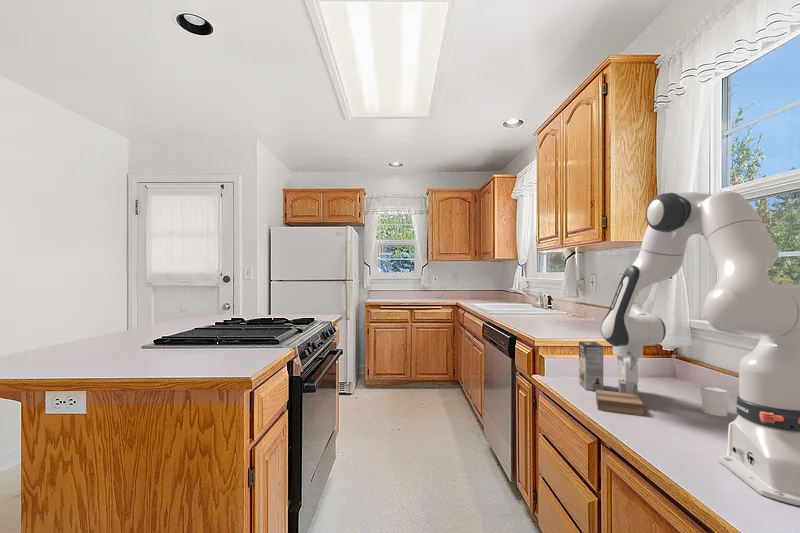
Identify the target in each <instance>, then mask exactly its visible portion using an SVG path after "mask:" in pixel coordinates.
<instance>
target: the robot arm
mask: <svg viewBox="0 0 800 533" xmlns="http://www.w3.org/2000/svg"><path fill="white" fill-rule="evenodd" d="M645 218H646V222H647V224H648V226H647V228H646V230H645V233H644V235H643V239H642V243H641V246H640V250H639V253H638V255H637V257H636V259H635V260H634V262H633V263H632V264H631V265H629V267H627V268H626V269H625V270H624V272H623V274H622V276H621V278H620V281H619V283H618V286H617V289H616V290H615V294H614V296H613V298H612V301H611V304H610V306H609V309H608V311H607V313H606V315H605V317H604V318H603V319H602V322H601V325H600V333H601V336H602V338H603V339H604V340H605V341H606V342H607V343H608V344H610V346H612V355H613V356H616V359H617V366H618V371H619V373H620V374H621V377H622V380H624V381H625V383H626V393H631V394H633V387H634V384H637V385H638V383H639V371H638V362H639V361H640V360H639V358H643V356H644V349H643V348H644V346H655V345H659V344H661V343H662V342H663V341H664V339H665V337H666V334H667V330H666V329H667V328H666V325H665V323H664V321H663V319H661V318H660V317H659V316H657V315H654V314H652V313H649V312H648V311H646V310H645V309H643V307H642V305H641V304H640V303H638V302H635V299H636V297H637V296H638V293H640V292H641V291H642V290H643V289H645V288H647V287H649V286H651V285H654V284H656V283H661V282H663V281H664V282H665V281H666V280H669V279H670V278H672V277H674V276H675V275H676V274H677V273H678V272H679V270H681V268H682V265H683V261H684V258H685V252H686V248H687V243H688V240H689V238H690V237H691V236H693V235H701V236H703V238H704V240H705V243H706V245H707V247H708V249H709V252H710V254H711V256H712V258H713V261H714V265H715V267H716V273H717V276H716V277H717V278H716V283H715V286H714V287H713V288H712V290H711V291H709V293H708V294H707V295H706V297H705V299H704V302H703V305H702V306H703V314H704V317H705V319H706V321H707V322H708V323H709V325H710V326H711V327H712V328H713V329H715V330H717V331H719V332H723V333H727V334H732V335H736V336H737V335H738V336H741V337H743V336H744V337H745V336H746V337H760V339H759V341H758V343H757V345H756V346H755V348H754V349H753V350H752V351H751V352H749V353H748V354H745V355H744V356H743V357H742V358H741V359H740V361H739V363H738V394H739V395H737V396H736V402H735V406H736V413H737V414H738V415H737V416H736V417H735V419H734V420H733V421H731V422H730V423H729V424H728V430H727V447H726V448H727V450H726V454H720V455H719V456H718V462H719V463H721V464H722V465H723V466H725V467H726V468H727V469H728V470H729V471H731V473H733V474H734V475H736V476H737V477H738V478H739V479H741V480H742V481H743V482H744V483H746V484H747V485H748V486H749V487H751V489H753V490H754V491H756V492H757V493H759V495H762V496H764V497H767V498H770V499H772V500H776V501H779V502H784V503H786V504H791V505H795V506H800V283H798V284H796V283H793V284H791V283H789V284H787V283H774V282H772V280H771V278H770V277H769V272H768V270H769V268H771V267H772V266H773V265H775V263H776V261H777V260H778V258H779V255H780V254H779V253H780V252H779V249H778V247H777V246H776V244H775V242H774V240H773V238H772V236H771V235H770V233H769V231H768V229H767V227H766V225H765V224H764V222H763V220H762V219H761V217H760V216H759V214H758V212H757V210H755V209H754V207H753V205H751V204H750V203H749V201H748V200H747V199H746V198H745V197H744V196H743V195H741V194H740V193H739V192H735V191H728V190H727V191H721V192H720V191H719V192H716V193H713V194H712V193H702V192H695V191H694V192H690V191H689V192H676V193H675V192H665V193H661V194H657V195H656V196H654V197H653V198H651V200H650V201H649V203H648V204H647V207H646V211H645Z"/></svg>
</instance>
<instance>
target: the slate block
mask: <svg viewBox="0 0 800 533" xmlns="http://www.w3.org/2000/svg"><path fill="white" fill-rule="evenodd" d="M618 392H622V393H626V383H625V381H624V380H623V379H618ZM633 394H638V383H637V384H634V387H633ZM638 395H639V394H638Z"/></svg>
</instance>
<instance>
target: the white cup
mask: <svg viewBox="0 0 800 533" xmlns="http://www.w3.org/2000/svg"><path fill="white" fill-rule="evenodd" d="M730 393H731V392H730V391H729V390H727V389H724V388H721V387H716V386H715V387H713V386H701V387H700V394H701V395H700V396H701V404H702V411H703V412H704V413H705V414H708V415H710V416H711V415H712V416H716V417H727V416H728V410H729V401H730Z"/></svg>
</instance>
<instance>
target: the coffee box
mask: <svg viewBox="0 0 800 533" xmlns="http://www.w3.org/2000/svg"><path fill="white" fill-rule="evenodd" d="M578 374H579V376H578V378H579V379H578V380H579V381H578V382H579V385H581V387H582V388H583V389H584V390H585V391H596V390H604V345H603V344H600V343H599V342H597V341H578Z"/></svg>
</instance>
